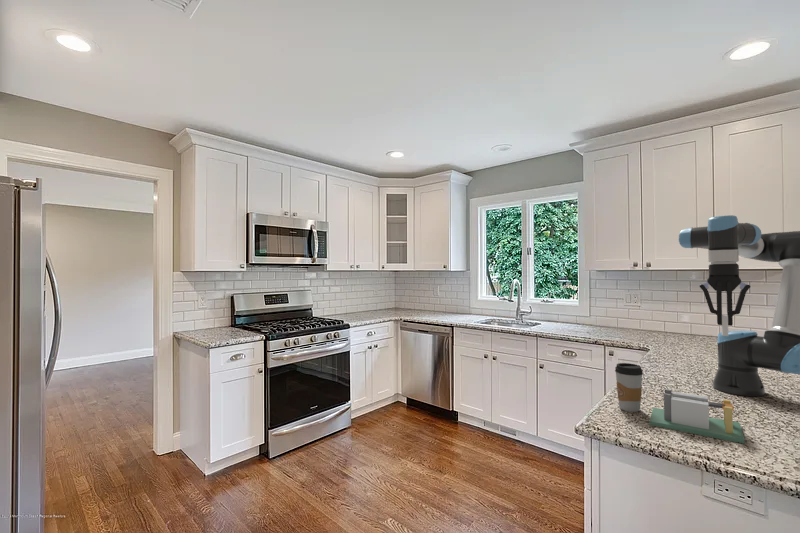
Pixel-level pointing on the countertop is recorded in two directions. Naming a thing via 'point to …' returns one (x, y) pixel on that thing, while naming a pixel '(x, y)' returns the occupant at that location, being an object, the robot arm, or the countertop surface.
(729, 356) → the robot arm
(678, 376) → the countertop surface
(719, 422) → the heatsink base
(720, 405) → the strap
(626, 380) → the coffee cup
